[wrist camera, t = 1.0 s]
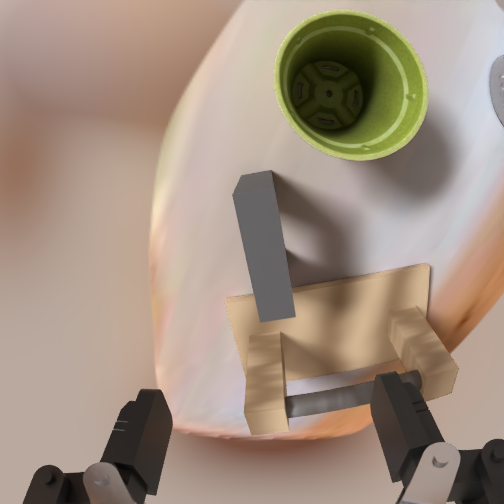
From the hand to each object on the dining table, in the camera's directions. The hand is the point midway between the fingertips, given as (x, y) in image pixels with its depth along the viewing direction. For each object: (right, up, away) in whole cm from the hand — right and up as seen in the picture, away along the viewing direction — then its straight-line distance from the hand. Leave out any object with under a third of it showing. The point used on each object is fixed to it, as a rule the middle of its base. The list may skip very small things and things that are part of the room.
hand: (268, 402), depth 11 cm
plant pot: (+6, +18, +13) cm, 23 cm away
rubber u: (+1, +8, +17) cm, 19 cm away
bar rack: (+8, -2, +21) cm, 22 cm away
